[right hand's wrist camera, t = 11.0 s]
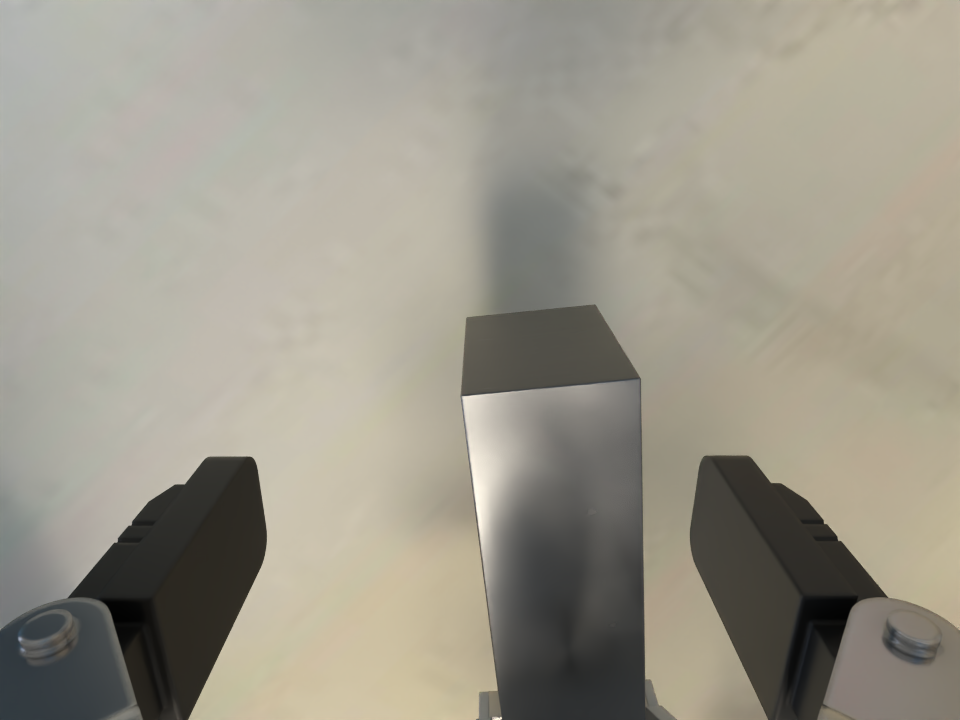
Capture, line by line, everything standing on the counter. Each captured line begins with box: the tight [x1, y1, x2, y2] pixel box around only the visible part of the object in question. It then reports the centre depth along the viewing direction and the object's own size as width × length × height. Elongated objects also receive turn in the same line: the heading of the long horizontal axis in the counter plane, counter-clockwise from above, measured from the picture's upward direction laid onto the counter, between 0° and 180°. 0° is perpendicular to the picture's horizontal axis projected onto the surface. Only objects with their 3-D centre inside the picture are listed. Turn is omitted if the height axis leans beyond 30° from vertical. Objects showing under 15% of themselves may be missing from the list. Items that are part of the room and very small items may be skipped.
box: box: [461, 305, 646, 720], centre depth 29 cm, size 23×6×9 cm, turn 6°
